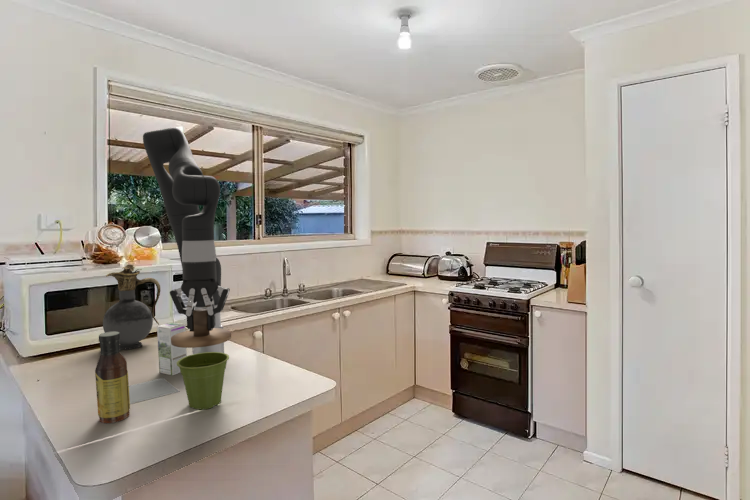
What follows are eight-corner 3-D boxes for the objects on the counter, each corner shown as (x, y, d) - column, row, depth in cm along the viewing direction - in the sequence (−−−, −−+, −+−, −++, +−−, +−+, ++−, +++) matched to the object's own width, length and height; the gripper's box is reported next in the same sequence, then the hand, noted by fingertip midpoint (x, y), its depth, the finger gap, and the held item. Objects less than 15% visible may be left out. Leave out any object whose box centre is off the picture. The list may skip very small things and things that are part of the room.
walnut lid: (218, 330, 114) (217, 303, 114) (240, 339, 104) (239, 310, 104) (163, 339, 105) (162, 310, 105) (182, 351, 95) (180, 318, 95)
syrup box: (188, 370, 131) (186, 323, 130) (171, 376, 125) (169, 327, 125) (174, 368, 133) (173, 321, 132) (158, 374, 128) (156, 325, 127)
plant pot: (173, 403, 107) (171, 358, 106) (221, 391, 114) (220, 349, 113) (185, 419, 97) (183, 370, 97) (237, 405, 105) (236, 360, 104)
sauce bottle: (107, 413, 101) (103, 329, 100) (135, 412, 102) (131, 328, 100) (91, 426, 95) (86, 337, 93) (121, 425, 95) (117, 336, 94)
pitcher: (101, 348, 156) (97, 265, 154) (158, 338, 169) (155, 261, 167) (107, 355, 148) (103, 267, 146) (167, 344, 161) (163, 263, 159)
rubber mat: (163, 379, 124) (163, 377, 124) (179, 392, 113) (179, 391, 113) (106, 392, 114) (106, 390, 114) (119, 408, 104) (119, 406, 104)
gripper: (162, 261, 99) (165, 335, 100) (226, 259, 101) (228, 333, 102) (173, 258, 106) (176, 328, 107) (232, 257, 108) (235, 325, 109)
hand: (201, 330), depth 105 cm, fingers closed on walnut lid, 3 cm apart
